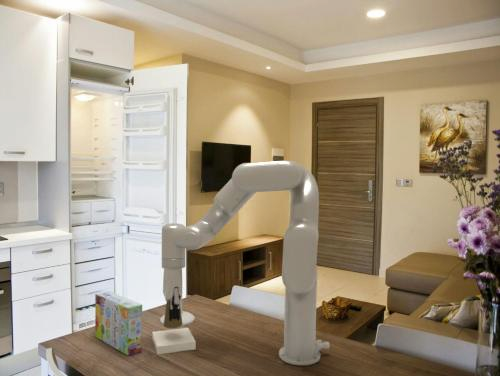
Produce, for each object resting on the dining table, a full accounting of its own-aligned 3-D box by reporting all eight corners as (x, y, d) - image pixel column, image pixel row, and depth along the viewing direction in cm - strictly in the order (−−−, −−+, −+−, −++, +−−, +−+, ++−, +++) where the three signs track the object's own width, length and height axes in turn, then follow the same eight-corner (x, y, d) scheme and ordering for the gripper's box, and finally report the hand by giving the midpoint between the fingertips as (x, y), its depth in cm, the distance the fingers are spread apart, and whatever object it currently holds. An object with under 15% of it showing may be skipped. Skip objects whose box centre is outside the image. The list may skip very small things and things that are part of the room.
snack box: (143, 351, 132) (143, 303, 131) (127, 357, 128) (127, 308, 127) (109, 332, 146) (109, 289, 145) (94, 337, 142) (93, 293, 141)
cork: (178, 328, 133) (178, 294, 133) (160, 327, 134) (160, 293, 134) (185, 322, 139) (185, 289, 138) (167, 320, 140) (168, 287, 140)
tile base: (188, 334, 145) (188, 327, 145) (195, 349, 133) (195, 341, 133) (152, 339, 141) (152, 331, 141) (157, 354, 129) (157, 346, 129)
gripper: (158, 257, 142) (158, 310, 143) (165, 269, 127) (165, 329, 128) (180, 256, 145) (180, 308, 146) (190, 267, 129) (189, 326, 130)
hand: (173, 317), depth 137 cm, fingers closed on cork, 3 cm apart
